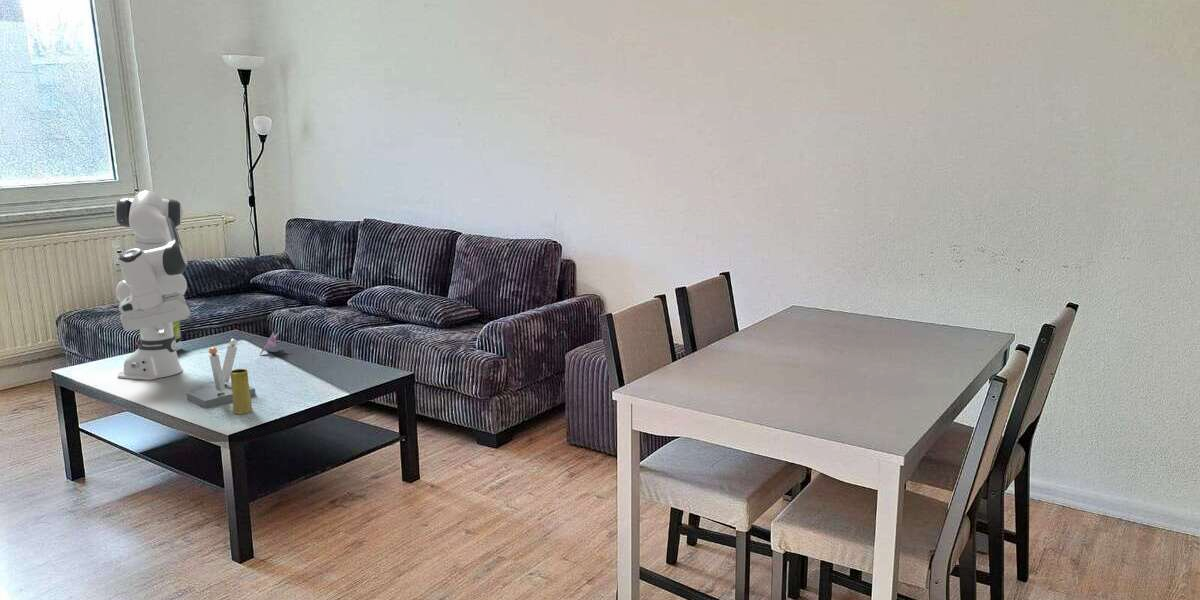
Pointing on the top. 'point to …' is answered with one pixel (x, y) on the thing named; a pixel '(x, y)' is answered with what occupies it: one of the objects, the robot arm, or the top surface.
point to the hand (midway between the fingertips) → (163, 335)
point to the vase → (240, 391)
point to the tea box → (176, 333)
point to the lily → (271, 342)
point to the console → (214, 396)
